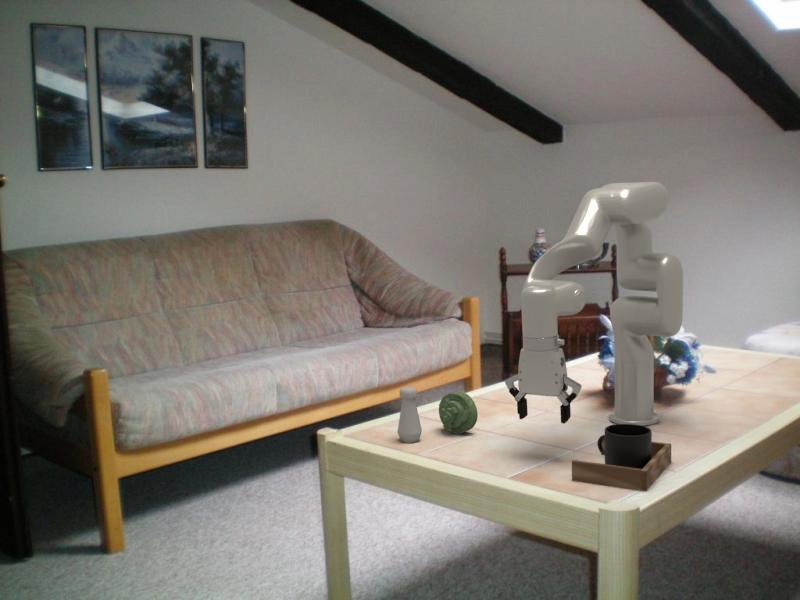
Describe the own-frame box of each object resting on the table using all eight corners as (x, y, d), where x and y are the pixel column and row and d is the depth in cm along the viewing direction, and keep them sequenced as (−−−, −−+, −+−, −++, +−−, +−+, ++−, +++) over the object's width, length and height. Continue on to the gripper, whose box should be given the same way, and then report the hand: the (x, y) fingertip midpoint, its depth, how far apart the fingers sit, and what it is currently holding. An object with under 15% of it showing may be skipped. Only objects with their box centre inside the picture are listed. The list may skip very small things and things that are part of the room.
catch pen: (602, 453, 193) (602, 435, 193) (671, 461, 186) (671, 443, 185) (571, 480, 176) (571, 461, 176) (645, 491, 169) (645, 471, 168)
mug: (610, 459, 189) (609, 419, 188) (660, 471, 180) (660, 428, 179) (585, 470, 182) (585, 428, 181) (636, 482, 174) (636, 438, 173)
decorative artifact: (478, 434, 212) (477, 394, 211) (461, 440, 207) (459, 400, 206) (445, 427, 219) (444, 389, 217) (428, 434, 213) (427, 394, 212)
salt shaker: (394, 439, 210) (392, 386, 209) (415, 435, 212) (414, 383, 211) (404, 445, 205) (402, 391, 203) (426, 441, 207) (424, 388, 205)
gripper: (585, 341, 186) (587, 418, 189) (510, 337, 195) (514, 411, 198) (573, 349, 180) (576, 428, 182) (496, 345, 189) (500, 420, 191)
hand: (544, 419), depth 190 cm, fingers open, 9 cm apart
